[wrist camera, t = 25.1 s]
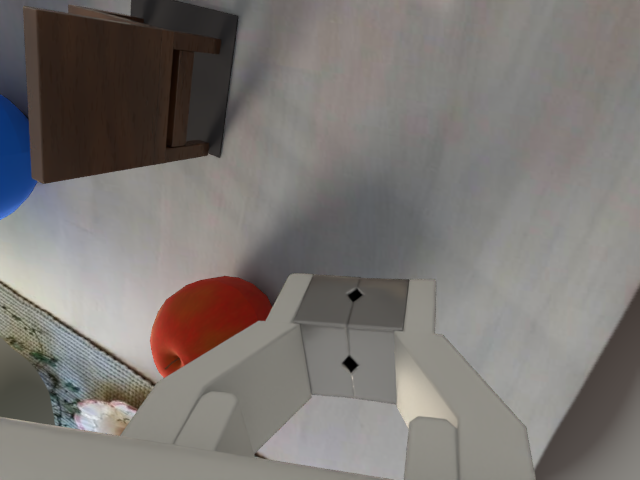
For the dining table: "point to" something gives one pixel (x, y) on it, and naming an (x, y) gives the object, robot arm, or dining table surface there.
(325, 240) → the dining table surface
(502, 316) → the dining table surface
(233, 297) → the apple
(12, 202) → the vase
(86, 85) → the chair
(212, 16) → the pad
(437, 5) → the dining table surface
